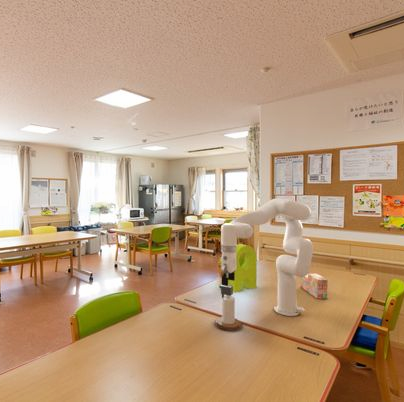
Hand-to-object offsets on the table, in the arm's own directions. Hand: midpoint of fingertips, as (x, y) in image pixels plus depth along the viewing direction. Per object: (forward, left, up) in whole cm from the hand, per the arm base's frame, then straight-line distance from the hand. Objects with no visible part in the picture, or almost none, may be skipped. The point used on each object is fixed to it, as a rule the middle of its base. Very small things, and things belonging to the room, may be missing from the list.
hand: (228, 282), depth 145 cm
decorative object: (+10, -58, -22) cm, 63 cm away
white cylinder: (0, 0, -22) cm, 22 cm away
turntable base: (0, 0, -22) cm, 22 cm away
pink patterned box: (-32, -74, -22) cm, 84 cm away
